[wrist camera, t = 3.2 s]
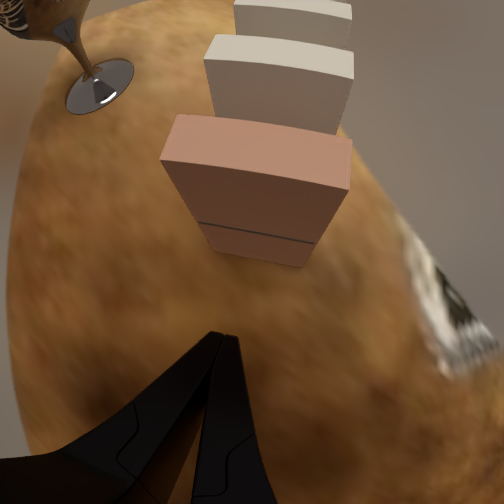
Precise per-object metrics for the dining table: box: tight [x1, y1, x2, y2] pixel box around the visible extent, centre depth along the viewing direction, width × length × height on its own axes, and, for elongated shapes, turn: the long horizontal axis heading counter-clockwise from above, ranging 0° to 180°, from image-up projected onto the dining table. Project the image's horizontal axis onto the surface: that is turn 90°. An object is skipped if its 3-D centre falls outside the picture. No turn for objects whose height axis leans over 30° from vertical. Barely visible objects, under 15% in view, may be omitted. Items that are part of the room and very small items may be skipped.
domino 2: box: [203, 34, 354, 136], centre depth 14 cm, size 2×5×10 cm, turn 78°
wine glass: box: [0, 0, 134, 115], centre depth 14 cm, size 8×8×15 cm
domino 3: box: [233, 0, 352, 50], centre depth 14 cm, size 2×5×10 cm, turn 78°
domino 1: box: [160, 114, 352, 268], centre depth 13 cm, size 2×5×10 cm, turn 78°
